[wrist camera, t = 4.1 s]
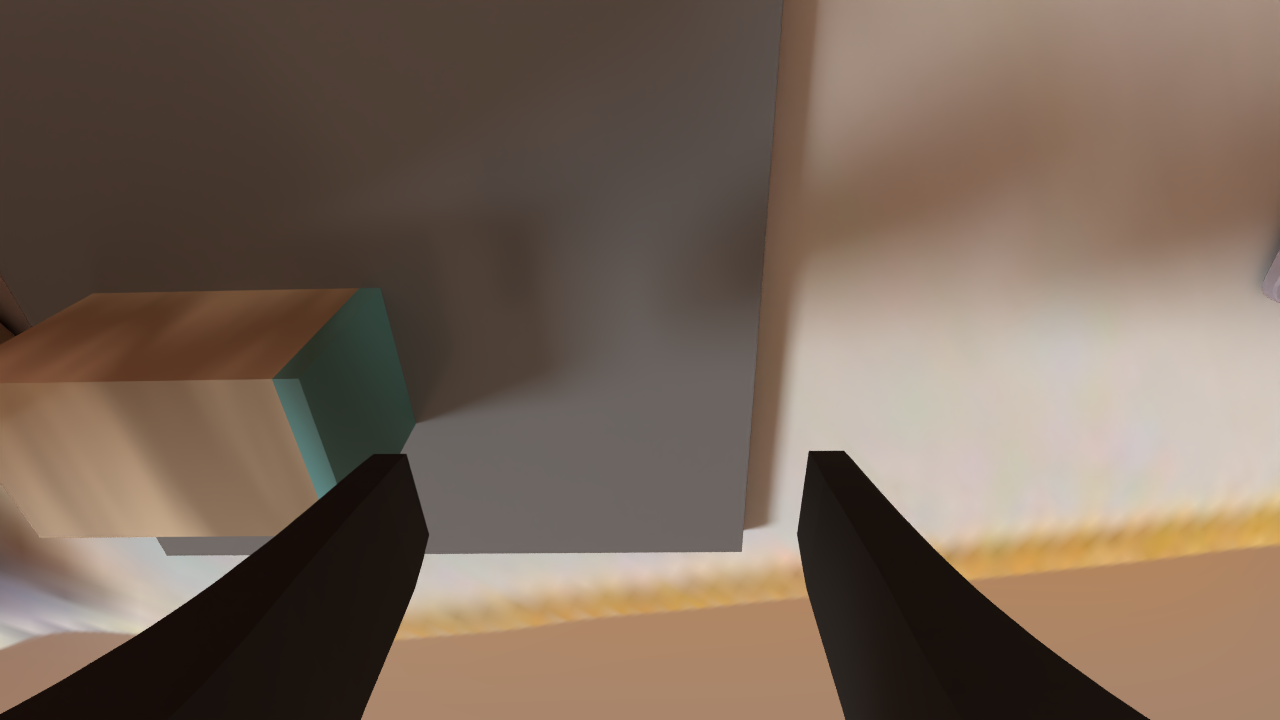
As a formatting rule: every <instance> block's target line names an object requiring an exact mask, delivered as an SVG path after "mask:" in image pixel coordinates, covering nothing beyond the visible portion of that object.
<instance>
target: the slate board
mask: <svg viewBox="0 0 1280 720" xmlns="http://www.w3.org/2000/svg"><path fill="white" fill-rule="evenodd" d="M782 11H783V0H0V275H1V277H2V278H3V280H4V282H5V283H6V285H7V287H8V289H9V290H10V292H11V294H12V295H13V297H14V299H15V300H16V302H17V304H18V305H19V307H20V309H21V310H22V312H23V314H24V315H25V317H26V319H27V321H28V322H29V324H30V326H31V327H33V326H35V325H37V324H39V323H40V322H42V321H44V320H46V319H48V318H49V317H51V316H53V315H55V314H57V313H58V312H60V311H62V310H64V309H66V308H68V307H69V306H71V305H73V304H75V303H77V302H78V301H80V300H82V299H84V298H86V297H87V296H89V295H91V294H93V293H139V292H190V291H240V290H291V289H341V288H380V289H381V293H382V296H383V300H384V304H385V308H386V312H387V315H388V319H389V323H390V327H391V331H392V334H393V338H394V342H395V346H396V350H397V353H398V357H399V361H400V365H401V369H402V372H403V376H404V380H405V384H406V388H407V391H408V395H409V399H410V403H411V407H412V410H413V414H414V418H415V422H416V425H415V427H414V428H413V430H412V432H411V434H410V436H409V438H408V440H407V441H406V443H405V445H404V447H403V449H402V451H401V453H400V454H407V457H408V460H409V464H410V468H411V471H412V475H413V478H414V482H415V486H416V489H417V493H418V496H419V500H420V503H421V507H422V511H423V514H424V518H425V521H426V525H427V528H428V532H429V538H428V542H427V546H426V550H425V554H475V553H628V552H742V540H743V527H744V514H745V500H746V487H747V474H748V461H749V447H750V434H751V421H752V408H753V394H754V381H755V368H756V355H757V342H758V328H759V315H760V302H761V289H762V275H763V262H764V249H765V236H766V222H767V209H768V196H769V183H770V169H771V156H772V143H773V130H774V117H775V103H776V90H777V77H778V64H779V50H780V37H781V24H782ZM273 537H275V536H219V537H156V538H157V539H158V541H159V543H160V544H161V546H162V548H163V549H164V551H165V553H166V555H167V556H171V555H251V554H253V553H254V552H255V551H256V550H258V549H259V548H260V547H262V546H263V545H264V544H265V543H267V542H268V541H269V540H271V539H272V538H273Z"/></svg>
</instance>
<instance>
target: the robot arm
mask: <svg viewBox="0 0 1280 720" xmlns="http://www.w3.org/2000/svg"><path fill="white" fill-rule="evenodd" d="M1262 291H1263V294H1264V295H1266V296H1267V297H1268V298H1270V299H1272V300H1274V301H1276V302H1278V303H1280V250H1279V252H1278V254H1277V256H1276V258H1275V260H1274V261H1273V263H1272V265H1271V267H1270V269H1269V271H1268V273H1267V275H1266V277H1265V279H1264V281H1263V285H1262ZM797 536H798V542H799V549H800V555H801V561H802V566H803V572H804V577H805V583H806V588H807V592H808V595H809V599H810V602H811V605H812V609H813V612H814V616H815V619H816V622H817V626H818V629H819V633H820V636H821V639H822V643H823V646H824V649H825V653H826V656H827V659H828V663H829V666H830V669H831V673H832V676H833V679H834V683H835V686H836V689H837V693H838V696H839V699H840V703H841V706H842V709H843V713H844V716H845V720H1150V719H1148V718H1147V717H1145V716H1144V715H1142V714H1141V713H1139V712H1137V711H1136V710H1135V709H1133V708H1132V707H1130V706H1129V705H1127V704H1126V703H1124V702H1123V701H1121V700H1120V699H1118V698H1117V697H1115V696H1114V695H1112V694H1111V693H1110V692H1108V691H1107V690H1105V689H1104V688H1102V687H1101V686H1100V685H1098V684H1097V683H1096V682H1094V681H1093V680H1091V679H1090V678H1089V677H1087V676H1086V675H1084V674H1083V673H1082V672H1080V671H1079V670H1078V669H1076V668H1075V667H1073V666H1072V665H1071V664H1069V663H1068V662H1067V661H1065V660H1064V659H1062V658H1061V657H1060V656H1058V655H1057V654H1056V653H1054V652H1053V651H1052V650H1050V649H1049V648H1048V647H1046V646H1045V645H1044V644H1043V643H1041V642H1040V641H1039V640H1037V639H1036V638H1035V637H1033V636H1032V635H1031V634H1030V633H1028V632H1027V631H1026V630H1025V629H1024V628H1022V627H1021V626H1020V625H1019V624H1017V623H1016V622H1015V621H1014V620H1013V619H1011V618H1010V617H1009V616H1008V615H1006V614H1005V613H1004V612H1003V611H1002V610H1000V609H999V608H998V607H997V606H996V605H994V604H993V603H992V602H991V601H990V600H988V599H987V598H986V597H985V596H984V595H983V594H981V593H980V592H979V591H978V590H977V589H976V588H975V587H974V586H973V585H971V584H970V583H969V582H968V581H967V580H966V579H965V578H964V577H963V576H962V575H961V574H960V573H959V572H958V571H957V570H956V569H954V568H953V567H952V566H951V565H950V564H949V563H948V562H947V561H946V560H945V559H944V558H943V557H942V556H941V555H940V554H939V553H938V552H937V551H936V550H935V549H934V548H933V547H932V546H931V545H930V544H929V543H928V542H927V541H926V540H925V539H924V538H923V537H922V536H921V535H920V534H919V533H918V532H917V531H916V530H915V529H914V528H913V526H912V525H911V524H910V523H909V522H908V521H907V520H906V519H905V518H904V517H903V516H902V515H901V514H900V513H899V512H898V511H897V510H896V508H895V507H894V506H893V505H892V504H891V503H890V502H889V501H888V500H887V499H886V497H885V496H884V495H883V494H882V493H881V492H880V491H879V490H878V488H877V487H876V486H875V485H874V484H873V483H872V482H871V481H870V479H869V478H868V477H867V476H866V475H865V474H864V473H863V471H862V470H861V469H860V468H859V467H858V466H857V465H856V463H855V462H854V461H853V460H852V459H851V458H850V457H849V456H848V455H847V454H846V452H845V451H809V454H808V461H807V468H806V475H805V482H804V489H803V496H802V504H801V511H800V518H799V525H798V532H797ZM428 538H429V532H428V528H427V525H426V521H425V518H424V514H423V511H422V507H421V503H420V500H419V496H418V493H417V489H416V486H415V482H414V478H413V475H412V471H411V468H410V464H409V460H408V457H407V454H373V455H372V456H370V457H369V458H368V459H366V460H365V461H364V462H363V463H361V464H360V465H359V466H358V467H357V468H355V469H354V470H353V471H352V472H351V473H349V474H348V475H347V476H346V477H345V478H344V479H342V480H341V481H340V482H339V483H338V484H336V485H335V486H334V487H333V488H332V489H331V490H329V491H328V492H327V493H326V494H325V495H324V496H322V497H321V498H320V499H319V500H318V501H317V502H315V503H314V504H313V505H312V506H311V507H309V508H308V509H307V510H306V511H305V512H303V513H302V514H301V515H300V516H299V517H297V518H296V519H295V520H294V521H293V522H291V523H290V524H289V525H288V526H287V527H285V528H284V529H283V530H282V531H281V532H279V533H278V534H277V535H276V536H275V537H273V538H272V539H271V540H269V541H268V542H267V543H265V544H264V545H263V546H262V547H260V548H259V549H258V550H256V551H255V552H254V553H253V554H251V555H250V556H249V557H247V558H246V559H245V560H244V561H242V562H241V563H240V564H238V565H237V566H236V567H234V568H233V569H232V570H231V571H229V572H228V573H227V574H225V575H224V576H223V577H222V578H220V579H219V580H218V581H216V582H215V583H213V584H212V585H211V586H209V587H208V588H206V589H205V590H204V591H202V592H201V593H199V594H198V595H197V596H195V597H194V598H192V599H191V600H189V601H188V602H187V603H185V604H184V605H182V606H181V607H179V608H178V609H176V610H175V611H173V612H172V613H170V614H169V615H167V616H166V617H164V618H163V619H161V620H160V621H158V622H157V623H155V624H154V625H152V626H151V627H149V628H148V629H146V630H145V631H143V632H141V633H140V634H138V635H137V636H135V637H133V638H132V639H130V640H129V641H127V642H125V643H124V644H122V645H120V646H118V647H117V648H115V649H113V650H112V651H110V652H109V653H107V654H105V655H103V656H102V657H100V658H98V659H97V660H95V661H94V662H92V663H90V664H88V665H87V666H85V667H84V668H82V669H80V670H79V671H77V672H75V673H74V674H72V675H70V676H69V677H67V678H65V679H63V680H62V681H60V682H58V683H56V684H55V685H53V686H51V687H49V688H47V689H46V690H44V691H42V692H40V693H38V694H37V695H35V696H33V697H31V698H30V699H28V700H26V701H24V702H22V703H20V704H19V705H17V706H15V707H13V708H11V709H9V710H7V711H5V712H3V713H2V714H0V720H361V718H362V715H363V712H364V710H365V707H366V705H367V703H368V700H369V698H370V696H371V693H372V691H373V688H374V686H375V684H376V681H377V679H378V676H379V674H380V672H381V669H382V667H383V664H384V662H385V660H386V657H387V655H388V653H389V650H390V648H391V645H392V643H393V641H394V638H395V636H396V634H397V631H398V629H399V626H400V624H401V621H402V619H403V617H404V614H405V612H406V609H407V607H408V604H409V602H410V599H411V597H412V594H413V592H414V589H415V586H416V583H417V580H418V576H419V573H420V569H421V566H422V562H423V558H424V554H425V550H426V546H427V542H428Z"/></svg>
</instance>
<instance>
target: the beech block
mask: <svg viewBox="0 0 1280 720" xmlns="http://www.w3.org/2000/svg"><path fill="white" fill-rule="evenodd" d="M415 425H416V422H415V418H414V414H413V410H412V407H411V403H410V399H409V395H408V391H407V388H406V384H405V380H404V376H403V372H402V369H401V365H400V361H399V357H398V353H397V350H396V346H395V342H394V338H393V334H392V331H391V327H390V323H389V319H388V315H387V312H386V308H385V304H384V300H383V296H382V293H381V289H380V288H341V289H291V290H240V291H190V292H139V293H93V294H91V295H89V296H87V297H86V298H84V299H82V300H80V301H78V302H77V303H75V304H73V305H71V306H69V307H68V308H66V309H64V310H62V311H60V312H58V313H57V314H55V315H53V316H51V317H49V318H48V319H46V320H44V321H42V322H40V323H39V324H37V325H35V326H33V327H31V328H30V329H28V330H26V331H24V332H22V333H21V334H19V335H17V336H15V337H13V338H12V339H10V340H8V341H6V342H4V343H3V344H1V345H0V483H1V485H2V486H3V487H4V489H5V490H6V491H7V493H8V494H9V496H10V497H11V498H12V500H13V501H14V502H15V504H16V505H17V507H18V508H19V509H20V511H21V512H22V513H23V515H24V516H25V518H26V519H27V520H28V522H29V523H30V525H31V526H32V527H33V529H34V530H35V531H36V533H37V534H38V536H39V537H40V538H84V537H219V536H276V535H277V534H278V533H279V532H281V531H282V530H283V529H284V528H285V527H287V526H288V525H289V524H290V523H291V522H293V521H294V520H295V519H296V518H297V517H299V516H300V515H301V514H302V513H303V512H305V511H306V510H307V509H308V508H309V507H311V506H312V505H313V504H314V503H315V502H317V501H318V500H319V499H320V498H321V497H322V496H324V495H325V494H326V493H327V492H328V491H329V490H331V489H332V488H333V487H334V486H335V485H336V484H338V483H339V482H340V481H341V480H342V479H344V478H345V477H346V476H347V475H348V474H349V473H351V472H352V471H353V470H354V469H355V468H357V467H358V466H359V465H360V464H361V463H363V462H364V461H365V460H366V459H368V458H369V457H370V456H372V455H373V454H400V453H401V451H402V449H403V447H404V445H405V443H406V441H407V440H408V438H409V436H410V434H411V432H412V430H413V428H414V427H415Z"/></svg>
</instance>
